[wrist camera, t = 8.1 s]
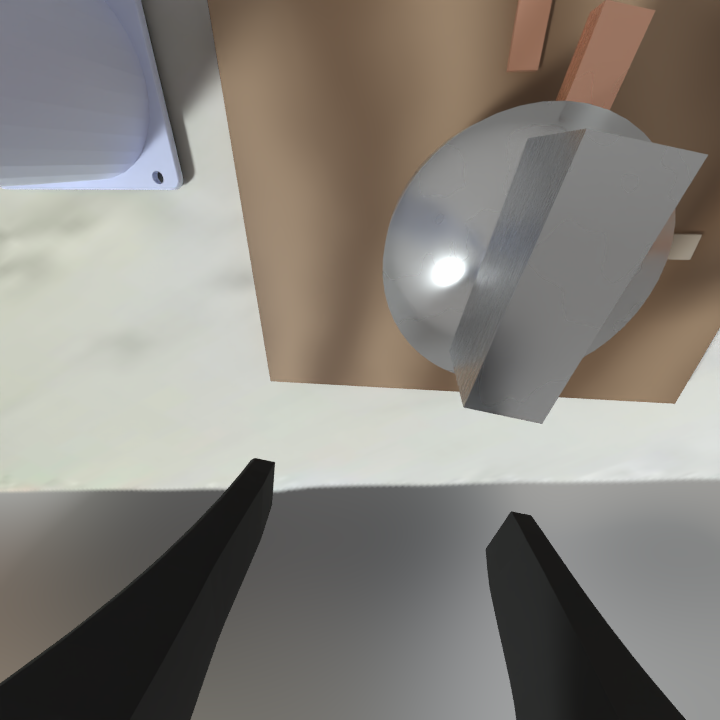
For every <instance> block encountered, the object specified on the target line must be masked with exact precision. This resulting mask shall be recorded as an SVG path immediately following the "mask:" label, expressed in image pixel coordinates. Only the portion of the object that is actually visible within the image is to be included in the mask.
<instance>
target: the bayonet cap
mask: <svg viewBox="0 0 720 720" xmlns="http://www.w3.org/2000/svg"><path fill="white" fill-rule="evenodd" d="M655 11H656V10H652V9H647V8H643V7H638V6H633V5H629V4H624V3H620V2H615V1H611V0H605V1H604V2H602V3H601V4H600V5H599V6H597V7H596V8H595V9H593V10H592V11H591V12H590V14H589V16H588V19H587V21H586V24H585V27H584V29H583V32H582V34H581V37H580V39H579V42H578V45H577V47H576V50H575V52H574V55H573V57H572V60H571V63H570V65H569V68H568V70H567V73H566V75H565V78H564V81H563V83H562V86H561V88H560V91H559V93H558V96H557V99H556V101H542V102H537V103H531V104H526V105H521V106H517V107H514V108H511V109H508V110H505V111H502V112H499V113H496V114H494V115H492V116H490V117H488V118H486V119H484V120H482V121H480V122H478V123H476V124H474V125H471V126H469V127H467V128H465V129H463V130H462V131H460V132H459V133H457V134H456V135H454V136H453V137H451V138H450V139H448V140H447V141H445V142H444V143H443V144H442V145H441V146H440V147H438V148H437V149H436V150H435V151H434V152H432V153H431V154H430V156H429V157H428V158H427V159H426V160H425V161H424V162H423V163H422V164H421V165H420V166H419V167H418V169H417V170H416V171H415V173H414V174H413V176H412V177H411V178H410V180H409V181H408V182H407V184H406V186H405V188H404V190H403V191H402V193H401V195H400V197H399V199H398V201H397V203H396V206H395V208H394V211H393V213H392V216H391V220H390V223H389V227H388V230H387V236H386V241H385V248H384V255H383V284H384V292H385V296H386V300H387V304H388V307H389V310H390V312H391V315H392V317H393V320H394V322H395V323H396V325H397V327H398V328H399V330H400V332H401V333H402V335H403V336H404V337H405V339H406V340H407V341H408V342H409V344H410V345H411V346H412V347H413V348H414V349H415V350H416V351H417V352H419V353H420V354H421V355H422V356H423V357H425V358H426V359H428V360H429V361H430V362H432V363H434V364H435V365H437V366H439V367H441V368H443V369H445V370H447V371H450V372H452V373H455V376H456V380H457V384H458V387H459V391H460V395H461V399H462V403H463V407H465V408H469V409H474V410H479V411H484V412H488V413H493V414H498V415H503V416H507V417H512V418H517V419H521V420H526V421H531V422H536V423H540V424H542V423H543V421H544V420H545V418H546V416H547V415H548V413H549V412H550V410H551V408H552V407H553V405H554V403H555V402H556V400H557V399H558V397H559V395H560V394H561V392H562V391H563V389H564V387H565V386H566V384H567V382H568V381H569V379H570V378H571V376H572V374H573V373H574V371H575V369H576V368H577V366H578V365H579V363H580V361H581V360H582V358H583V357H585V356H586V355H588V354H590V353H591V352H593V351H595V350H596V349H597V348H599V347H600V346H602V345H603V344H604V343H606V342H607V341H608V340H610V339H611V338H612V337H613V336H614V335H615V334H616V333H617V332H619V331H620V330H621V329H622V328H623V327H624V326H625V325H626V324H627V323H628V322H629V321H630V320H631V318H632V317H633V316H634V315H635V314H636V313H637V312H638V310H639V309H640V308H641V306H642V305H643V304H644V302H645V301H646V300H647V298H648V297H649V295H650V293H651V292H652V290H653V288H654V287H655V285H656V283H657V282H658V280H659V277H660V275H661V273H662V271H663V268H664V266H665V264H666V262H667V258H668V255H669V252H670V248H671V245H672V241H673V234H674V228H675V208H676V206H677V205H678V203H679V201H680V200H681V198H682V196H683V195H684V193H685V192H686V190H687V188H688V187H689V185H690V184H691V182H692V180H693V179H694V177H695V175H696V174H697V172H698V171H699V169H700V167H701V166H702V164H703V163H704V161H705V159H706V158H707V156H708V155H707V154H703V153H698V152H693V151H689V150H684V149H680V148H675V147H670V146H666V145H661V144H656V143H652V142H651V141H650V139H649V138H648V137H647V136H646V135H645V133H644V132H642V131H641V130H640V129H639V128H637V127H636V126H635V125H634V124H632V123H631V122H630V121H629V120H627V119H625V118H623V117H622V116H620V115H618V114H616V113H614V112H612V111H610V108H611V106H612V104H613V102H614V100H615V98H616V95H617V93H618V91H619V89H620V87H621V85H622V82H623V80H624V78H625V76H626V74H627V72H628V69H629V67H630V65H631V63H632V61H633V59H634V56H635V54H636V52H637V50H638V48H639V46H640V43H641V41H642V39H643V37H644V35H645V32H646V30H647V28H648V26H649V24H650V22H651V19H652V17H653V15H654V13H655Z"/></svg>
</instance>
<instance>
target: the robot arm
mask: <svg viewBox="0 0 720 720" xmlns="http://www.w3.org/2000/svg"><path fill="white" fill-rule="evenodd" d="M158 172H160V173H161V174H162V176H163V179H164V181H163V183H161V182H160V181H159V179H158ZM182 184H183V176H182V171H181V167H180V163H179V159H178V155H177V150H176V146H175V142H174V138H173V133H172V129H171V125H170V121H169V117H168V112H167V108H166V104H165V100H164V96H163V91H162V87H161V83H160V79H159V75H158V70H157V66H156V62H155V58H154V53H153V49H152V45H151V41H150V37H149V32H148V28H147V24H146V20H145V16H144V11H143V7H142V3H141V0H0V187H1V188H3V189H81V190H174V189H179V188H180V187H181V186H182ZM274 468H275V462H271V461H266V460H262V459H257V458H254V459H252V460H251V461H250V462H249V464H248V465H247V466H246V467H245V469H244V470H243V471H242V472H241V474H240V475H239V476H238V477H237V478H236V480H235V481H234V482H233V483H232V484H231V485H230V487H229V488H228V489H227V490H226V491H225V492H224V493H223V495H222V496H221V497H220V498H219V499H218V500H217V501H216V502H215V503H214V504H213V505H212V506H211V508H210V509H208V511H207V512H206V513H205V514H204V515H203V516H202V517H201V518H200V519H199V520H198V521H197V522H196V523H195V524H194V525H193V526H192V527H191V528H190V529H189V530H188V531H187V532H186V533H185V534H184V535H183V536H182V537H181V538H180V539H179V540H178V541H177V542H176V543H174V544H173V545H172V546H171V547H170V548H169V549H168V550H167V551H166V552H165V553H164V554H163V555H162V556H161V557H160V558H159V559H157V560H156V561H155V562H154V563H153V564H152V565H151V566H150V567H149V568H148V569H146V570H145V571H144V572H143V573H142V574H141V575H139V576H138V577H137V578H136V579H135V580H134V581H133V582H131V583H130V584H129V585H128V586H127V587H126V588H124V589H123V590H122V591H121V592H120V593H119V594H117V595H116V596H115V597H113V598H112V599H111V600H110V601H108V602H107V603H106V604H105V605H103V606H102V607H101V608H100V609H99V610H97V611H96V612H95V613H94V614H92V615H91V616H90V617H89V618H87V619H86V620H85V621H84V622H82V623H81V624H80V625H79V626H77V627H76V628H75V629H73V630H72V631H71V632H69V633H68V634H67V635H65V636H64V637H63V638H61V639H60V640H59V641H57V642H56V643H55V644H53V645H52V646H50V647H49V648H48V649H46V650H45V651H44V652H42V653H41V654H40V655H39V656H37V657H36V658H34V659H33V660H31V661H30V662H29V663H27V664H26V665H25V666H23V667H22V668H21V669H19V670H18V671H17V672H15V673H14V674H12V675H11V676H10V677H8V678H7V679H6V680H4V681H3V682H1V683H0V720H190V719H191V716H192V713H193V710H194V708H195V705H196V702H197V699H198V696H199V693H200V690H201V687H202V684H203V681H204V678H205V675H206V672H207V670H208V666H209V664H210V661H211V658H212V655H213V652H214V650H215V647H216V644H217V641H218V638H219V636H220V634H221V631H222V629H223V626H224V623H225V621H226V619H227V616H228V614H229V612H230V610H231V607H232V605H233V602H234V600H235V598H236V596H237V593H238V591H239V589H240V586H241V584H242V582H243V580H244V577H245V575H246V573H247V570H248V568H249V566H250V563H251V561H252V559H253V556H254V554H255V552H256V549H257V547H258V545H259V542H260V540H261V537H262V534H263V531H264V528H265V525H266V521H267V519H268V515H269V512H270V509H271V506H272V496H273V482H274ZM486 557H487V570H488V578H489V586H490V591H491V597H492V601H493V606H494V611H495V616H496V620H497V625H498V629H499V634H500V638H501V643H502V647H503V652H504V656H505V661H506V665H507V670H508V674H509V679H510V684H511V689H512V695H513V700H514V705H515V712H516V720H686V719H685V718H684V717H683V716H682V715H681V713H680V712H679V711H678V710H677V709H676V708H675V706H674V705H673V704H672V703H671V702H670V700H669V699H668V698H667V697H666V696H665V695H664V693H663V692H662V691H661V690H660V689H659V687H657V685H656V684H655V683H654V682H653V680H652V679H651V678H650V677H649V676H648V674H647V673H646V672H645V671H644V670H643V668H642V667H641V666H640V665H639V663H638V662H637V661H636V660H635V658H634V657H633V656H632V655H631V653H630V652H629V651H628V650H627V648H626V647H625V646H624V645H623V643H622V642H621V640H620V639H619V638H618V636H617V635H616V634H615V633H614V632H613V630H612V629H611V627H610V626H609V625H608V624H607V622H606V621H605V619H604V618H603V617H602V616H601V614H600V613H599V611H598V610H597V609H596V607H595V606H594V605H593V603H592V602H591V601H590V599H589V598H588V597H587V595H586V594H585V593H584V591H583V589H582V588H581V587H580V585H579V584H578V582H577V581H576V579H575V578H574V577H573V575H572V574H571V573H570V571H569V570H568V568H567V567H566V565H565V564H564V563H563V561H562V559H561V558H560V556H559V555H558V554H557V552H556V551H555V549H554V548H553V546H552V545H551V543H550V542H549V540H548V539H547V538H546V536H545V535H544V533H543V532H542V530H541V529H540V528H539V526H538V525H537V523H536V522H535V520H534V519H533V517H532V516H531V515H526V514H521V513H516V512H510V514H509V515H508V517H507V518H506V520H505V521H504V523H503V524H502V526H501V527H500V529H499V530H498V532H497V533H496V535H495V536H494V538H493V539H492V541H491V542H490V544H489V545H488V547H487V548H486Z"/></svg>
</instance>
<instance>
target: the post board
mask: <svg viewBox="0 0 720 720" xmlns="http://www.w3.org/2000/svg"><path fill="white" fill-rule="evenodd" d="M207 1H208V7H209V13H210V19H211V25H212V31H213V37H214V43H215V49H216V55H217V61H218V67H219V73H220V79H221V85H222V91H223V97H224V103H225V109H226V115H227V121H228V127H229V133H230V139H231V145H232V151H233V157H234V163H235V169H236V175H237V181H238V187H239V193H240V199H241V205H242V211H243V217H244V223H245V229H246V235H247V241H248V247H249V253H250V260H251V266H252V272H253V278H254V284H255V290H256V296H257V302H258V308H259V314H260V320H261V326H262V332H263V338H264V344H265V350H266V356H267V362H268V368H269V374H270V380H271V381H277V382H295V383H313V384H331V385H349V386H367V387H385V388H403V389H421V390H439V391H457V392H460V391H459V387H458V384H457V380H456V376H455V373H452V372H450V371H447V370H445V369H443V368H441V367H439V366H437V365H435V364H434V363H432V362H430V361H429V360H428V359H426V358H425V357H423V356H422V355H421V354H420V353H419V352H417V351H416V350H415V349H414V348H413V347H412V346H411V345H410V344H409V342H408V341H407V340H406V339H405V337H404V336H403V335H402V333H401V332H400V330H399V328H398V327H397V325H396V323H395V322H394V320H393V317H392V315H391V312H390V310H389V307H388V304H387V300H386V296H385V292H384V284H383V255H384V248H385V241H386V236H387V230H388V227H389V223H390V220H391V216H392V213H393V211H394V208H395V206H396V203H397V201H398V199H399V197H400V195H401V193H402V191H403V190H404V188H405V186H406V184H407V182H408V181H409V180H410V178H411V177H412V176H413V174H414V173H415V171H416V170H417V169H418V167H419V166H420V165H421V164H422V163H423V162H424V161H425V160H426V159H427V158H428V157H429V156H430V154H431V153H432V152H434V151H435V150H436V149H437V148H438V147H440V146H441V145H442V144H443V143H444V142H445V141H447V140H448V139H450V138H451V137H453V136H454V135H456V134H457V133H459V132H460V131H462V130H463V129H465V128H467V127H469V126H471V125H474V124H476V123H478V122H480V121H482V120H484V119H486V118H488V117H490V116H492V115H494V114H496V113H499V112H502V111H505V110H508V109H511V108H514V107H517V106H521V105H526V104H531V103H537V102H542V101H556V99H557V96H558V93H559V91H560V88H561V86H562V83H563V81H564V78H565V75H566V73H567V70H568V68H569V65H570V63H571V60H572V57H573V55H574V52H575V50H576V47H577V45H578V42H579V39H580V37H581V34H582V32H583V29H584V27H585V24H586V21H587V19H588V16H589V14H590V12H591V11H592V10H593V9H595V8H596V7H597V6H599V5H600V4H601V3H602V2H604V1H605V0H207ZM611 1H615V2H620V3H624V4H629V5H633V6H638V7H643V8H647V9H652V10H656V11H655V13H654V15H653V17H652V19H651V22H650V24H649V26H648V28H647V30H646V32H645V35H644V37H643V39H642V41H641V43H640V46H639V48H638V50H637V52H636V54H635V56H634V59H633V61H632V63H631V65H630V67H629V69H628V72H627V74H626V76H625V78H624V80H623V82H622V85H621V87H620V89H619V91H618V93H617V95H616V98H615V100H614V102H613V104H612V106H611V108H610V111H612V112H614V113H616V114H618V115H620V116H622V117H623V118H625V119H627V120H629V121H630V122H631V123H632V124H634V125H635V126H636V127H637V128H639V129H640V130H641V131H642V132H644V133H645V135H646V136H647V137H648V138H649V139H650V141H651V142H652V143H656V144H661V145H666V146H670V147H675V148H680V149H684V150H689V151H693V152H698V153H703V154H707V155H708V156H707V158H706V159H705V161H704V163H703V164H702V166H701V167H700V169H699V171H698V172H697V174H696V175H695V177H694V179H693V180H692V182H691V184H690V185H689V187H688V188H687V190H686V192H685V193H684V195H683V196H682V198H681V200H680V201H679V203H678V205H677V206H676V208H675V228H674V234H673V241H672V245H671V248H670V252H669V255H668V258H667V262H666V264H665V266H664V268H663V271H662V273H661V275H660V277H659V280H658V282H657V283H656V285H655V287H654V288H653V290H652V292H651V293H650V295H649V297H648V298H647V300H646V301H645V302H644V304H643V305H642V306H641V308H640V309H639V310H638V312H637V313H636V314H635V315H634V316H633V317H632V318H631V320H630V321H629V322H628V323H627V324H626V325H625V326H624V327H623V328H622V329H621V330H620V331H619V332H617V333H616V334H615V335H614V336H613V337H612V338H611V339H610V340H608V341H607V342H606V343H604V344H603V345H602V346H600V347H599V348H597V349H596V350H595V351H593V352H591V353H590V354H588V355H586V356H585V357H583V358H582V360H581V361H580V363H579V365H578V366H577V368H576V369H575V371H574V373H573V374H572V376H571V378H570V379H569V381H568V382H567V384H566V386H565V387H564V389H563V391H562V392H561V394H560V395H559V397H565V398H583V399H601V400H619V401H637V402H655V403H673V404H675V403H676V401H677V399H678V397H679V396H680V394H681V392H682V391H683V389H684V387H685V386H686V384H687V382H688V381H689V379H690V377H691V375H692V374H693V372H694V370H695V369H696V367H697V365H698V364H699V362H700V360H701V358H702V357H703V355H704V353H705V352H706V350H707V348H708V347H709V345H710V343H711V341H712V340H713V338H714V336H715V335H716V333H717V331H718V330H719V328H720V0H611Z"/></svg>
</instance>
